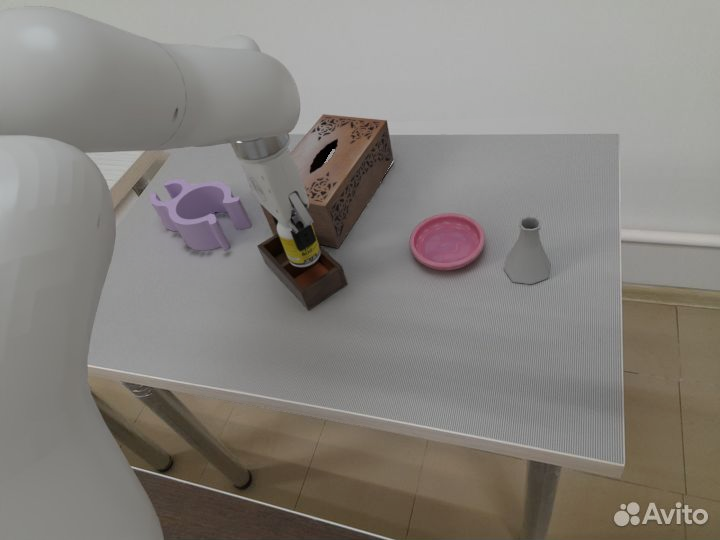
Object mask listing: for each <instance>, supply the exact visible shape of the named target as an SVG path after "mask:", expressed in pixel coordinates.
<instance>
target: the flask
mask: <svg viewBox="0 0 720 540" xmlns="http://www.w3.org/2000/svg"><path fill="white" fill-rule="evenodd" d="M518 227H519V228H520V232H519V235H518V238H517V239H516V241H515V242H514V244H513V246H512V248H511V249H510V251H509V252H508V253H507V256H506V259H505V263H504V267H503V270H504V272H505V274H506V275H507V276H508V278H509V279H510V280H511V282H512V283H518V284H527V285H534V284H537V283H539V282H541V281H544V280H547V279H549V277H550V271H551V262H550V260H549V258H548V255H547V253H546V251H545V249H544V246H543V243H542V241H541V237H540V230H541V227H542V220H541V219H540V218H539V217H538V216H537V215H526V216H523V217H520V218H519V222H518Z"/></svg>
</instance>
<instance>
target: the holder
mask: <svg viewBox="0 0 720 540" xmlns="http://www.w3.org/2000/svg"><path fill="white" fill-rule="evenodd" d="M256 246H257V249H258V251H259V253H260V255H261V258H262V259H263V262H264V263H265V265H266V266H267V267H268V268H269V269H270V270H271V271H272V273H274V274H275V276H276V277H277V278H278V279H279V280H280V281H281V282H282V283H283V284H284V286H285V287H286V288H287V289H288V290H289V291H290V293H292V294H293V296H294V297H295V298H296V299H297V300H298V301H299V302H300V303H301V304H302V305H303V307H304V308H305V309H306V310H307V311H308V312H309V311H311V310H312V309H314V308H315V307H316V306H318V305H320V304H321V303H323V302H324V301H325V300H327V299H328V298H330V297H331V296H332V295H334V294H336V293H337V292H339V291H340V290H342V289H343V288H345V287H346V286H347V285H348V280H347V278H346V275H345V271H344V269H343V266H342V264H340V263H339V262H338V261H337V260H336V258H333V256H332V255H330V253H328V252H327V251H326V250H325V249H324V248H323V247H322V245H321V244H319V247H320V256H319V258H318V260H317V261H316V262H315V263H313V264H312V265H309V266H306V267H296V266H294V265H292V264H291V263H290V262H289V260H288V257H287V255H286V252H285V250H284V247H283V245H282V242H281V240H280V237H279V235H278V233H277V234H273V235H272V236H271V237H269V238H267V239H266V240H264V241H262V242H261V243H259V244H258V245H256Z"/></svg>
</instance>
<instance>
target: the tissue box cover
mask: <svg viewBox="0 0 720 540" xmlns="http://www.w3.org/2000/svg"><path fill="white" fill-rule="evenodd" d="M388 125H389V124H388V120H386V119H376V118H367V117H366V118H365V117H356V116H346V115H345V116H344V115H335V114H325V113H324V114H322V115H321V116H320V117H319V119H318V120H317V121H316V122H315V123H314V124H313V126H312V127H311V128H310V130H308V132H306V134H305V135H304V136H303V137H302V139H301V140H299V142H298V143H297V145H295V147H294V148H293V149H292V150H291V151H290V153H291V156H292V158H293V160H294V162H295V165H296V167H297V169H298V172H299V174H300V177H301V179H302V182H303V185H304V187H305V190H306V193H307V196H308V200H309V208H308V209H306V210H307V211H308V213H309V215H310V216H311V218H312V220H313V223H312V226H313V229H314V232H315V235H316V238H317V241H318V244H319V245H320V246H326V247H329V248H330V247H331V248H336V249H339V248H340V247H341V244H342V243H343V242H344V240H345V239H346V237H347V235H349V232H350V231H351V229H352V227H353V226H354V224H355V223H356V222H357V220H358V218H359V217H360V215H361V214H362V212H363V211H364V209H365V208H366V206H367V205H368V203H369V202H370V200H371V199H372V197H373V196H374V194H375V192H376V191H377V189H378V188H379V186H380V185H381V183H382V181H383V180H384V178H385V177H384V175H385V173H386V172H387V170H388V168H389V167H390V165H391V163H392V161H393V160H394V155H393V149H392V142H391V136H390V131H389V126H388ZM332 149H335V152H334V153H333V155H332V157H331V158H330V159H329V160H328V162H326V163H324V162H325V161H326V159H327V157H328V155H329V154H330V152H331V151H332ZM387 173H388V172H387ZM385 176H386V175H385ZM383 177H384V178H383ZM382 179H383V180H382ZM380 182H381V183H380ZM379 184H380V185H379ZM378 185H379V186H378ZM377 187H378V188H377ZM259 204H260V203H259ZM260 207H261V209H262V212H263V214H264V216H265V219H266V221H267V224H268V226H269V228H270V231H271V234H273V235H275V234H277V233H278V232H277V227H276V225H275V222H274V220H273V218H272V215H271V213H270V212H269V211H268V210H267V209H266V208H265V207H263V206H262V205H261V204H260Z"/></svg>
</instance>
